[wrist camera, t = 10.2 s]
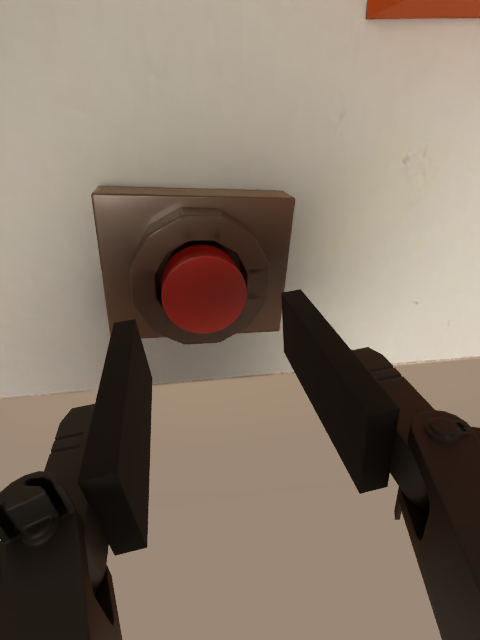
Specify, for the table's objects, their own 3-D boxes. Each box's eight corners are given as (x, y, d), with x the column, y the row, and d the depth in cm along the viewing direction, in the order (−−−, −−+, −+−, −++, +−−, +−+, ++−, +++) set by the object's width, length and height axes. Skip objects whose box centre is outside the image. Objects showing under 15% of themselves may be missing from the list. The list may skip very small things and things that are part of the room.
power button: (238, 315, 20) (244, 331, 18) (163, 319, 19) (163, 336, 17) (242, 243, 18) (249, 255, 16) (159, 244, 17) (159, 256, 16)
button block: (270, 315, 24) (288, 347, 21) (115, 321, 22) (106, 358, 19) (283, 190, 21) (308, 204, 17) (97, 185, 19) (83, 200, 15)
